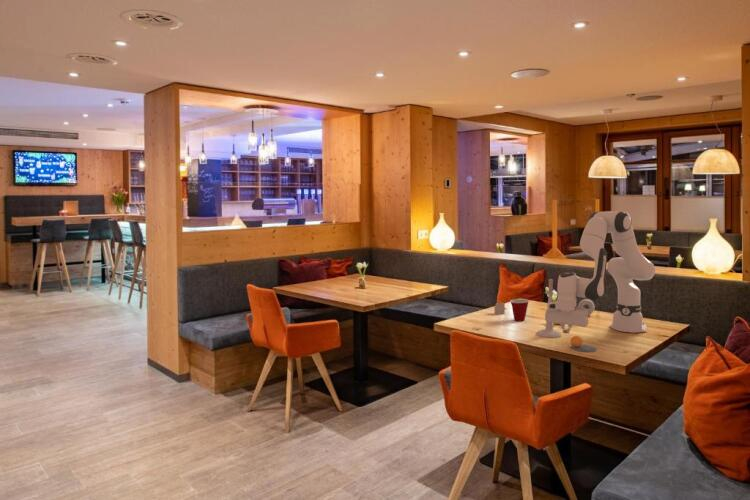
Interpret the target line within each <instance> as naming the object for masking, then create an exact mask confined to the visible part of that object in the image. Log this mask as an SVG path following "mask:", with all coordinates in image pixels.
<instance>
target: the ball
mask: <svg viewBox="0 0 750 500" xmlns="http://www.w3.org/2000/svg"><path fill="white" fill-rule="evenodd" d="M570 344H571V345H570V346H573V347H580V346H581V345H583V339H582V337H580V336H578V335H573V336H571V338H570Z"/></svg>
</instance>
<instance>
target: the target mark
mask: <svg viewBox="0 0 750 500" xmlns="http://www.w3.org/2000/svg"><path fill="white" fill-rule="evenodd" d="M569 349H571V350H573V351H577V352H581V353H594V352H596V351H598V348H596V347H595V346H593V345H588V344H582V345H581V346H580V347H573V346H572V345H570V348H569Z"/></svg>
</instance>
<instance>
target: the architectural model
mask: <svg viewBox="0 0 750 500" xmlns="http://www.w3.org/2000/svg"><path fill="white" fill-rule="evenodd" d="M505 305H506V303H505V302H501V301H500V302H496V303H495V306H494V310H493V311H494V313H493V314H494V315H505V314H506V313H505V310H507V308H506V306H505Z"/></svg>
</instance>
